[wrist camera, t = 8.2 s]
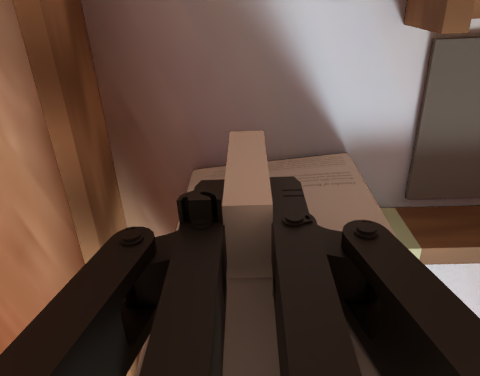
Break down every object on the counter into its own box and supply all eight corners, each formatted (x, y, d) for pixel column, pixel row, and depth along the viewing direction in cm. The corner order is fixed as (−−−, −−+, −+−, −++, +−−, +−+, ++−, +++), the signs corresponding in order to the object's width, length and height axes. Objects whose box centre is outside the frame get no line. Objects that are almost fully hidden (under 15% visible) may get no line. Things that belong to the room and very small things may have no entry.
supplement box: (187, 165, 22) (99, 445, 9) (350, 148, 21) (522, 421, 8) (212, 289, 26) (177, 607, 13) (348, 278, 26) (461, 599, 12)
